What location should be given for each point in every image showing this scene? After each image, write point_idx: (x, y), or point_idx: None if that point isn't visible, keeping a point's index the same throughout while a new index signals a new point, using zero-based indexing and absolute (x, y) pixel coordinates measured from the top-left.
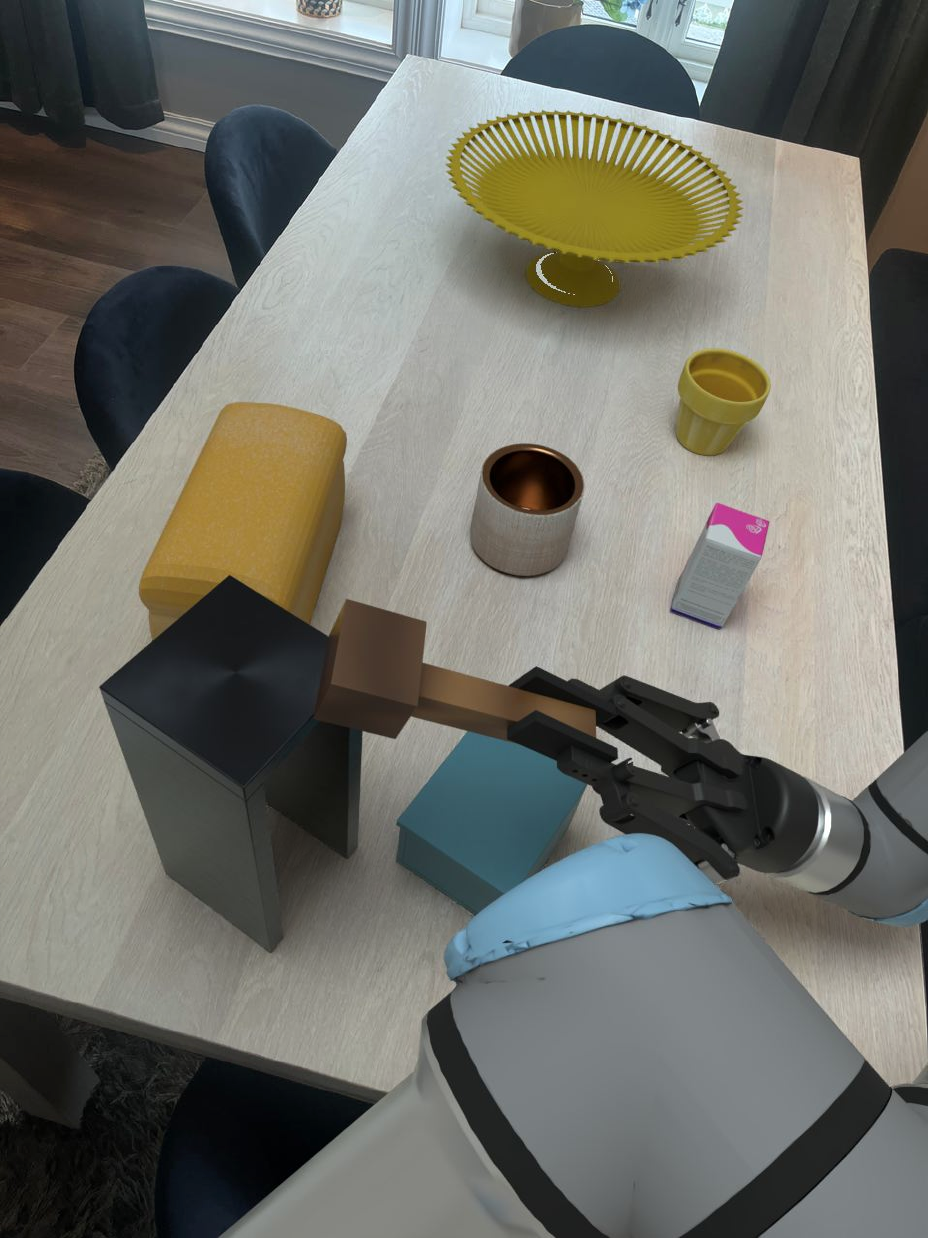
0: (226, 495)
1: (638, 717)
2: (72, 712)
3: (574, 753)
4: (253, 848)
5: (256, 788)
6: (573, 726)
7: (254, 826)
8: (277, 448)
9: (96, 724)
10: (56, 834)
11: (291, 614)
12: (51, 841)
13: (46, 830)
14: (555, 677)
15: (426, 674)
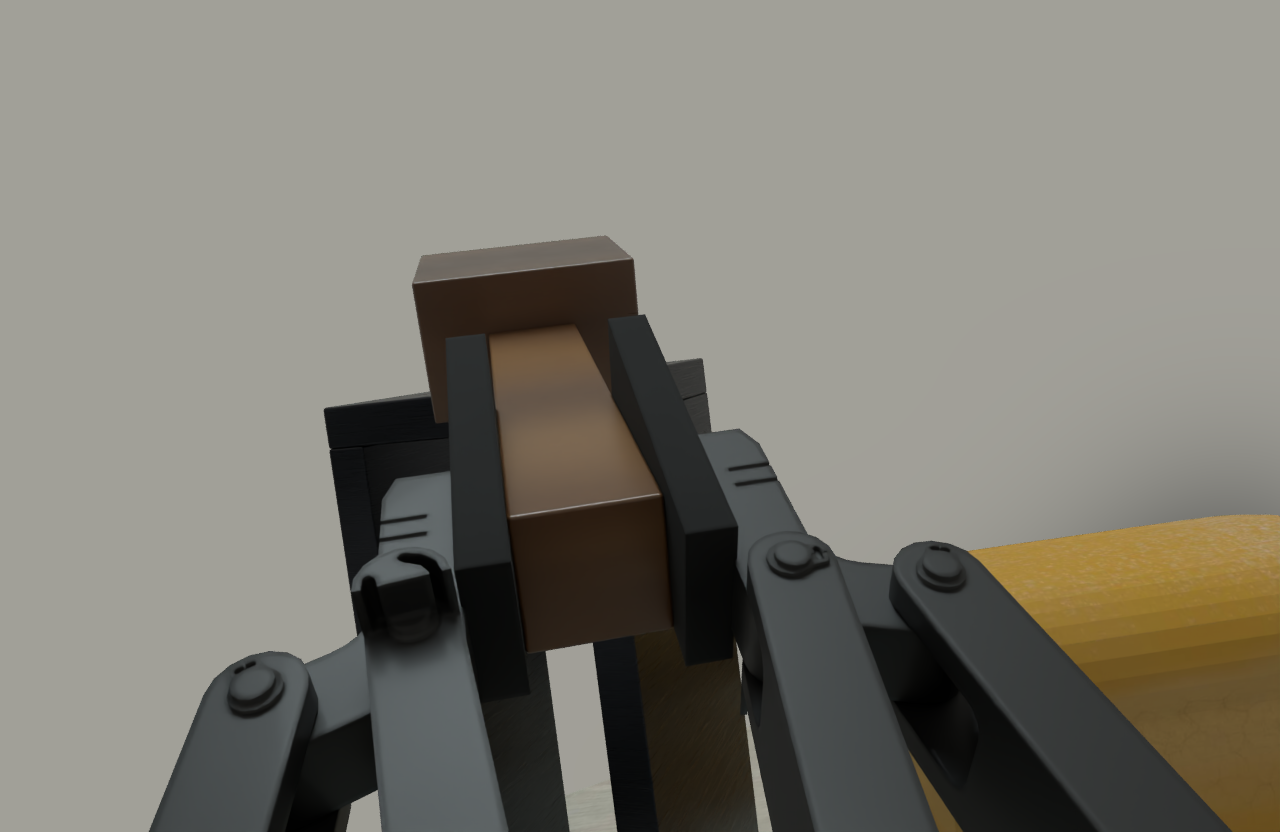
0: (1051, 542)
1: (795, 651)
2: (757, 765)
3: (426, 483)
4: (355, 619)
5: (347, 442)
6: (547, 472)
7: (350, 549)
8: (1212, 535)
9: (753, 785)
10: (585, 818)
11: None
12: (575, 819)
13: (588, 810)
14: (654, 353)
15: (549, 332)
